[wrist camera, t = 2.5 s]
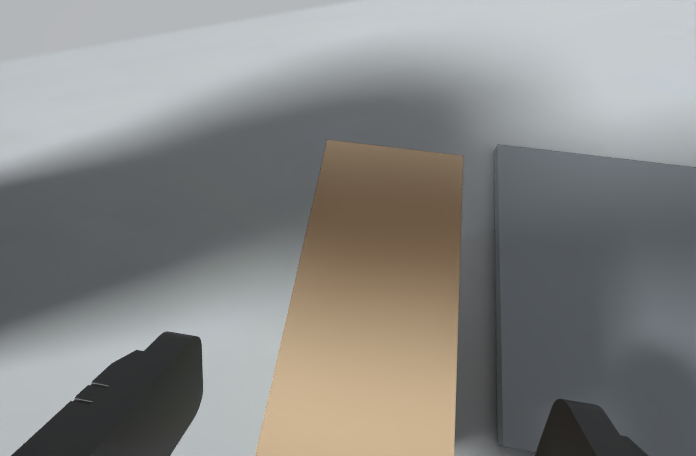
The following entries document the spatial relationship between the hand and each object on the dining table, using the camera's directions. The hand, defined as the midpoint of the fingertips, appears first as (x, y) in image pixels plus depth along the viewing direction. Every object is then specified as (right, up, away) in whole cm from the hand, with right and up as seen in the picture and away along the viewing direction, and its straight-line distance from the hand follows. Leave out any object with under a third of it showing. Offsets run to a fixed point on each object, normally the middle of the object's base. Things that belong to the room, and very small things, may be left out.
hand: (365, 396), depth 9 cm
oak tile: (0, -2, +7) cm, 7 cm away
